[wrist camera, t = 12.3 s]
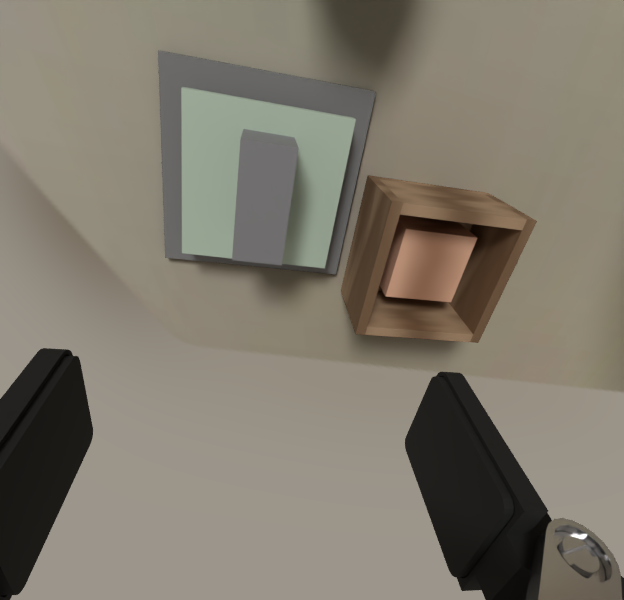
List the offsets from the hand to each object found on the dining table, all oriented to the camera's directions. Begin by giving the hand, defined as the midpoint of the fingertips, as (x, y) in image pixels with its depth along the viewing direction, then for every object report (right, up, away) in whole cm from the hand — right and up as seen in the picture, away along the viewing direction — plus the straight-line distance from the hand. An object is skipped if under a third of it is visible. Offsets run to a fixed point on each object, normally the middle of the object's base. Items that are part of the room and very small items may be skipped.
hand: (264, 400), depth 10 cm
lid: (-3, +12, +20) cm, 23 cm away
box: (+10, +8, +25) cm, 28 cm away
